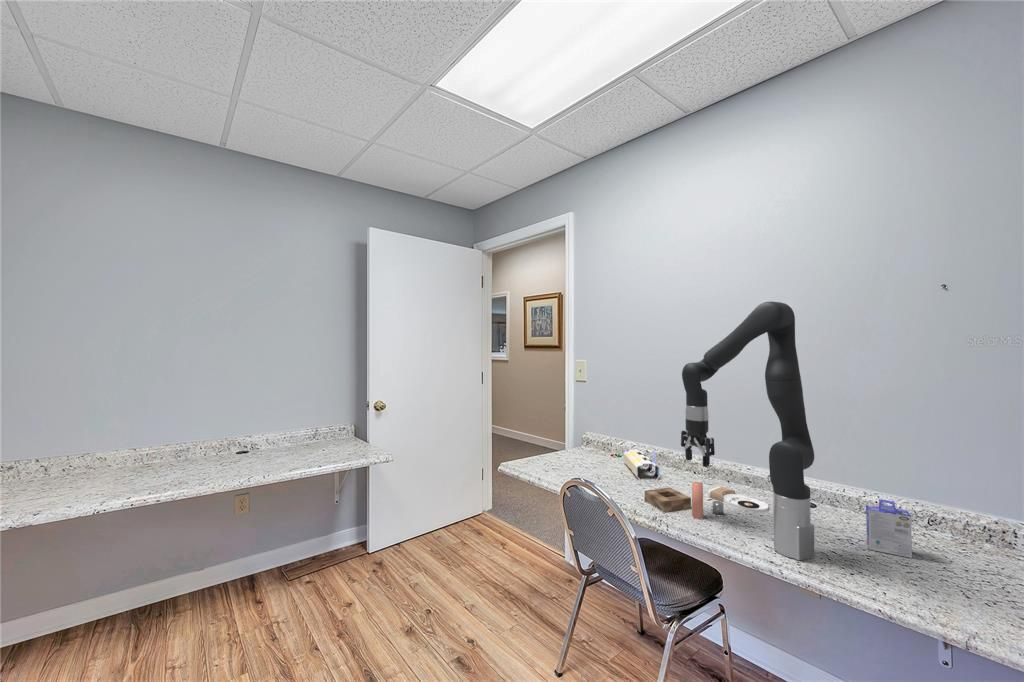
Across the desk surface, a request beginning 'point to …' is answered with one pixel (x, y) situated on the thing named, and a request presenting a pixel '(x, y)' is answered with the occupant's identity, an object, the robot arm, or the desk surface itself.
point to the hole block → (667, 499)
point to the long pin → (697, 500)
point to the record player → (737, 499)
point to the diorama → (640, 461)
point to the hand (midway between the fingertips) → (697, 463)
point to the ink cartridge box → (889, 529)
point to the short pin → (718, 508)
